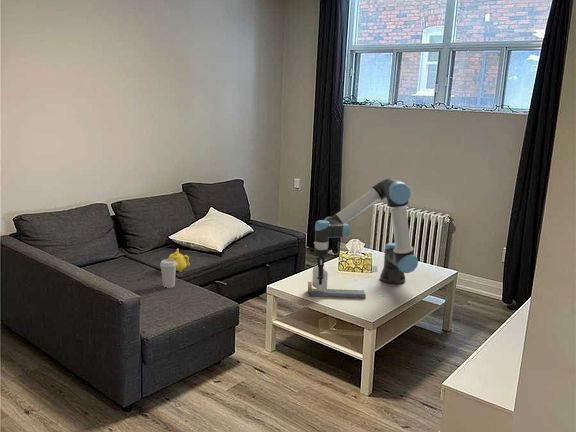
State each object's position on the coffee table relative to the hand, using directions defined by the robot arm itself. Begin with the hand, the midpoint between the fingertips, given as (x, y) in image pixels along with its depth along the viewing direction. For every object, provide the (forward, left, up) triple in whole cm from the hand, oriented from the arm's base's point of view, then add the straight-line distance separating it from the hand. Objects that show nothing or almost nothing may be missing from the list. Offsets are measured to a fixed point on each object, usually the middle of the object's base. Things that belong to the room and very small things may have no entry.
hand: (319, 286), depth 312 cm
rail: (-9, +1, -4) cm, 10 cm away
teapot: (+88, -32, -5) cm, 93 cm away
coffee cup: (+87, -4, -5) cm, 87 cm away
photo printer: (0, 0, -1) cm, 1 cm away
